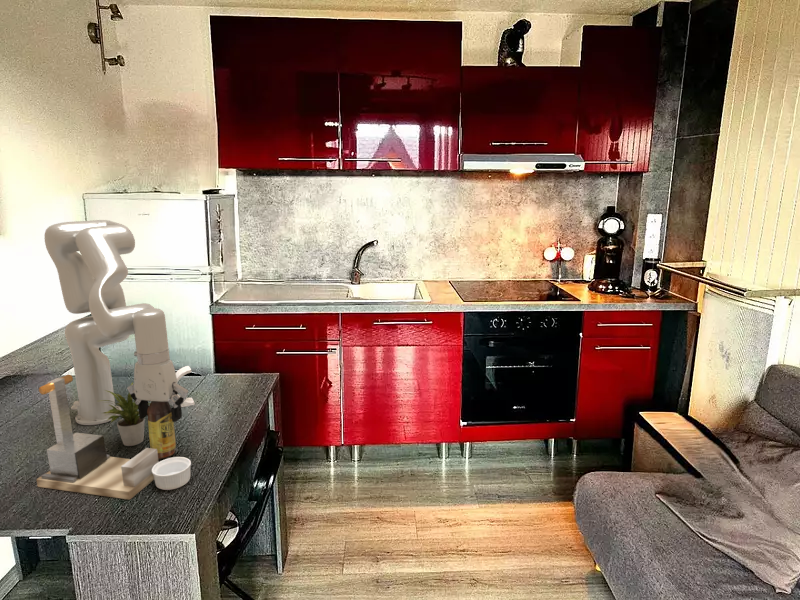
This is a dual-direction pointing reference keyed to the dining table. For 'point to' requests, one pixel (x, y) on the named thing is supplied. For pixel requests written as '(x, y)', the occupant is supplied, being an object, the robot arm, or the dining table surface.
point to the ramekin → (171, 473)
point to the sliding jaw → (70, 437)
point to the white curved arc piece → (179, 374)
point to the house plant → (128, 420)
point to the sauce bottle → (161, 428)
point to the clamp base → (109, 477)
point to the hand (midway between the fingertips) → (160, 418)
